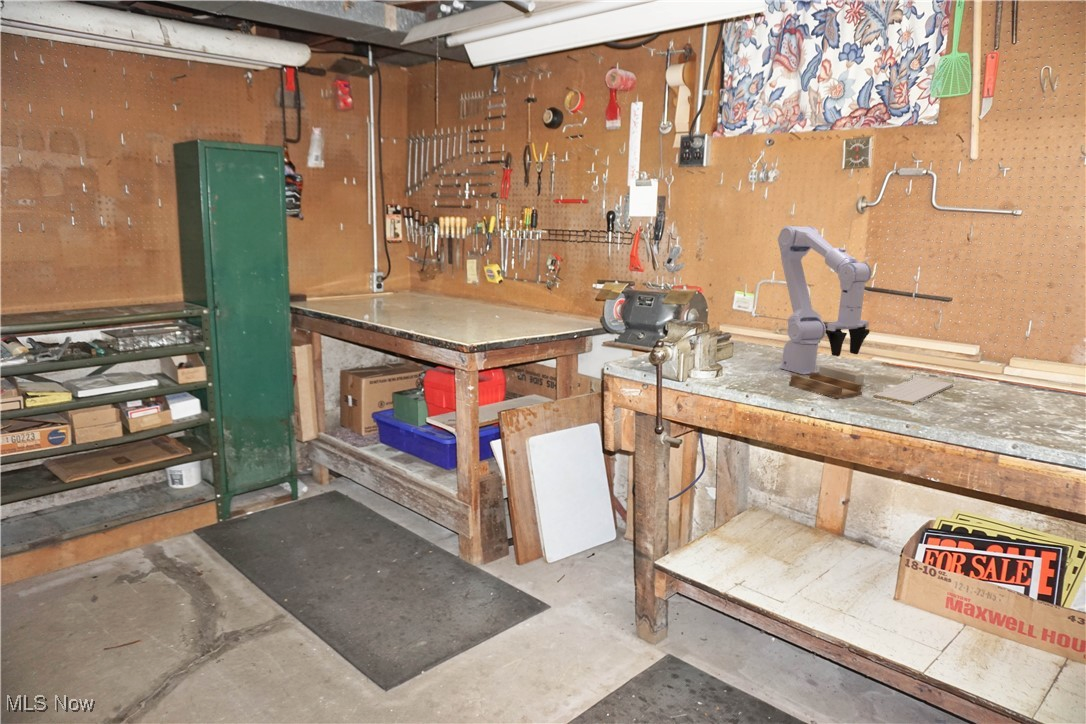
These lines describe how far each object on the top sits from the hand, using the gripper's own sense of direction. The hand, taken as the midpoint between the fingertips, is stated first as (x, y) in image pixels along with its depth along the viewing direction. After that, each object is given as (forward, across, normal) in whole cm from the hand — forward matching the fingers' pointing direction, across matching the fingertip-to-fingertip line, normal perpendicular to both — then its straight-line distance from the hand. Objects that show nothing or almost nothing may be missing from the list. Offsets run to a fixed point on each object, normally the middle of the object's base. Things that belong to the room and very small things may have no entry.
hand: (844, 354), depth 193 cm
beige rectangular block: (+9, 0, 0) cm, 9 cm away
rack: (+8, -11, -3) cm, 14 cm away
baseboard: (+9, +11, -14) cm, 20 cm away
